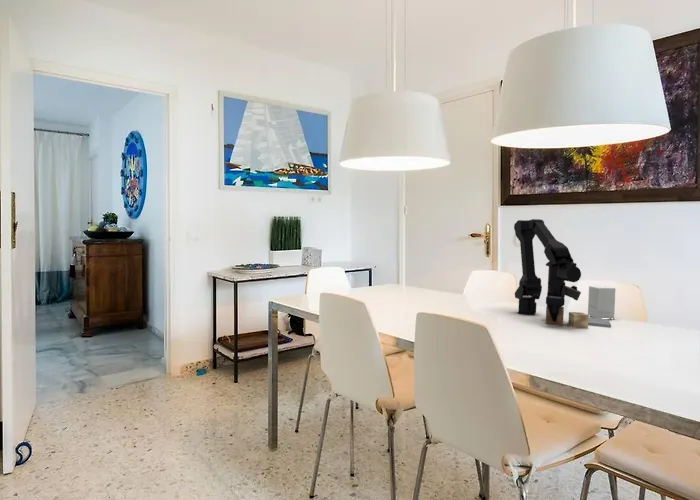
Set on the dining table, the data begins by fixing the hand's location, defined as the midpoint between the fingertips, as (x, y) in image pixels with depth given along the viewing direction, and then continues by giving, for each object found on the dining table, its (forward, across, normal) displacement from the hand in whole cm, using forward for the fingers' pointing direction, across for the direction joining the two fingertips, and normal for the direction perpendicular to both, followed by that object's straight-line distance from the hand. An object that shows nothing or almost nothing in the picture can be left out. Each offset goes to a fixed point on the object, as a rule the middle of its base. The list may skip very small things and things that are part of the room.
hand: (554, 319), depth 177 cm
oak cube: (+1, -3, -8) cm, 9 cm away
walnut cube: (+1, 0, 0) cm, 1 cm away
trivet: (+1, +8, -13) cm, 15 cm away
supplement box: (+2, +22, -17) cm, 28 cm away
